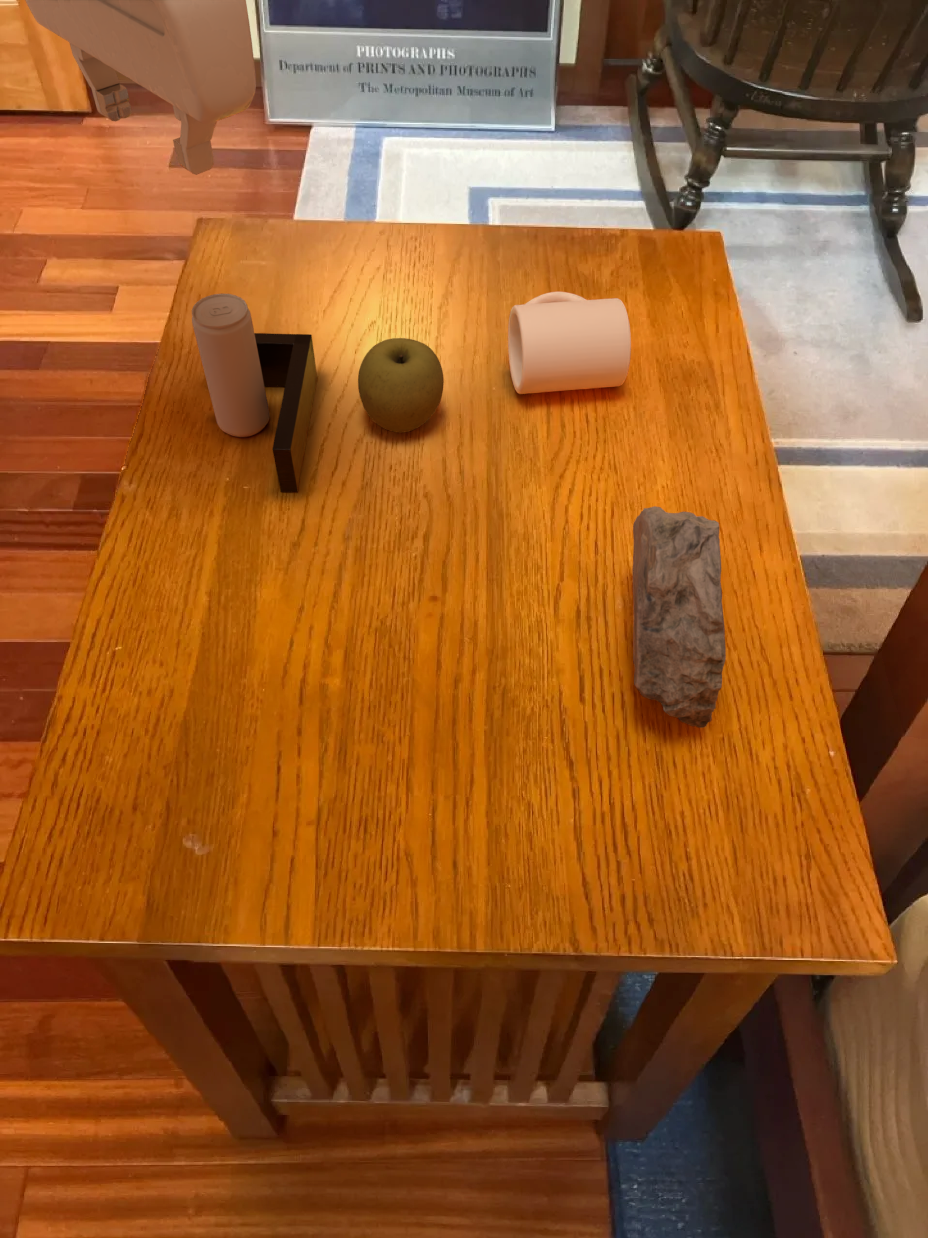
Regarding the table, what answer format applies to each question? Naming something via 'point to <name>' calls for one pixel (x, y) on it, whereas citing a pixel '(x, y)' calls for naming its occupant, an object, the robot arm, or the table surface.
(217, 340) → the beverage can
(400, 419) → the apple
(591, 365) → the mug
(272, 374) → the bracket
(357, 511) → the table surface
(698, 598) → the decorative rock
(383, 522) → the table surface
